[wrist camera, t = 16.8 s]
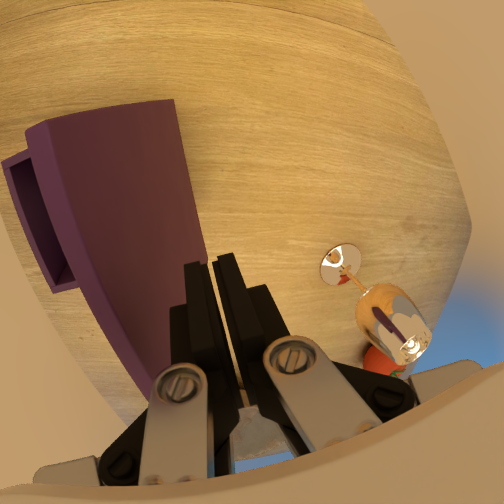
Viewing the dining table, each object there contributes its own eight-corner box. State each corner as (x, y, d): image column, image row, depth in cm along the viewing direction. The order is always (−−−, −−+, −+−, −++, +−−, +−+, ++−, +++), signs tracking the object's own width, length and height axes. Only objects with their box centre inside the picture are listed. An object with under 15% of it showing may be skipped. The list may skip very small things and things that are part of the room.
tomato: (347, 362, 61) (367, 396, 52) (372, 327, 57) (398, 360, 49) (376, 363, 65) (397, 393, 56) (401, 331, 61) (425, 360, 52)
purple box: (83, 238, 35) (52, 294, 24) (52, 140, 29) (0, 162, 18) (194, 208, 37) (203, 257, 26) (172, 102, 31) (168, 100, 20)
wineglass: (356, 281, 50) (424, 361, 33) (315, 288, 48) (378, 379, 31) (365, 240, 46) (447, 315, 29) (322, 244, 45) (400, 331, 27)
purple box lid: (176, 439, 12) (192, 438, 12) (23, 131, 5) (46, 119, 5) (199, 260, 26) (208, 258, 26) (163, 101, 19) (173, 98, 19)
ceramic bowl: (266, 350, 52) (282, 393, 44) (286, 408, 64) (299, 442, 56) (153, 384, 51) (155, 428, 42) (198, 434, 62) (204, 469, 54)
